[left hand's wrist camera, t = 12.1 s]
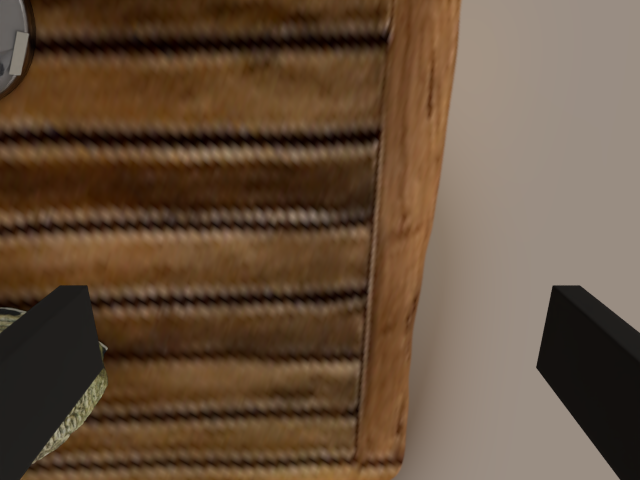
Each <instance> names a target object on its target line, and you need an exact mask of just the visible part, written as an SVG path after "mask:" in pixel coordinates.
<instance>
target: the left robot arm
mask: <svg viewBox="0 0 640 480" xmlns="http://www.w3.org/2000/svg"><path fill="white" fill-rule="evenodd" d="M35 40H36V29H35V19H34V14H33V9H32V6H31V2H30V0H0V98H2V97H4V96H6V95H7V94H9V93H10V92H11V91H12V90H14V89H15V88H16V87H17V86H18V85H19V83H20V82H21V81H22V80H23V78H24V77H25V75H26V73H27V71H28V69H29V67H30V65H31V62H32V58H33V55H34V49H35ZM103 368H104V366H103V361H102V356H101V351H100V346H99V341H98V336H97V331H96V326H95V322H94V317H93V312H92V307H91V302H90V297H89V292H88V287H87V286H59V287H58V288H56V289H55V290H54V291H53V292H51V293H50V294H49V295H48V296H46V297H45V298H44V299H42V300H41V301H40V302H39V303H37V304H36V305H35V306H34V307H32V308H31V309H30V310H29V311H27V312H26V313H25V314H24V315H22V316H21V317H20V318H19V319H17V320H16V321H15V322H14V323H12V324H11V325H10V326H8V327H7V328H6V329H5V330H3V331H2V332H1V333H0V480H20V479H21V477H22V476H23V475H24V473H25V472H26V471H27V469H28V468H29V467H30V465H31V464H32V463H33V461H34V460H35V459H36V457H37V456H38V455H39V453H40V452H41V451H42V449H43V448H44V447H45V445H46V444H47V443H48V441H49V440H50V439H51V437H52V436H53V435H54V433H55V432H56V431H57V429H58V428H59V427H60V425H61V424H62V423H63V421H64V420H65V419H66V417H67V416H68V415H69V413H70V412H71V411H72V409H73V408H74V407H75V405H76V404H77V403H78V401H79V400H80V399H81V397H82V396H83V395H84V393H85V392H86V391H87V389H88V388H89V387H90V385H91V384H92V383H93V381H94V380H95V379H96V377H97V376H98V375H99V373H100V372H101V371H102V369H103ZM536 368H537V369H538V371H539V372H540V373H541V375H542V376H543V377H544V379H545V380H546V381H547V383H548V384H549V385H550V387H551V388H552V389H553V391H554V392H555V393H556V395H557V396H558V397H559V399H560V400H561V401H562V403H563V404H564V405H565V407H566V408H567V409H568V411H569V412H570V413H571V415H572V416H573V417H574V419H575V420H576V421H577V423H578V424H579V425H580V427H581V428H582V429H583V431H584V432H585V433H586V435H587V436H588V437H589V439H590V440H591V441H592V443H593V444H594V445H595V447H596V448H597V449H598V451H599V452H600V453H601V455H602V456H603V457H604V459H605V460H606V461H607V463H608V464H609V465H610V467H611V468H612V469H613V471H614V472H615V473H616V475H617V476H618V477H619V479H620V480H640V333H639V332H638V331H637V330H635V329H634V328H633V327H632V326H630V325H629V324H628V323H626V322H625V321H624V320H623V319H621V318H620V317H619V316H618V315H616V314H615V313H614V312H613V311H611V310H610V309H609V308H608V307H606V306H605V305H604V304H602V303H601V302H600V301H599V300H598V299H596V298H595V297H594V296H592V295H591V294H590V293H589V292H587V291H586V290H585V289H584V288H582V287H581V286H553V287H552V292H551V297H550V302H549V307H548V312H547V317H546V322H545V326H544V331H543V337H542V341H541V347H540V351H539V356H538V361H537V366H536Z"/></svg>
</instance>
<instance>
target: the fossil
mask: <svg viewBox="0 0 640 480" xmlns="http://www.w3.org/2000/svg"><path fill="white" fill-rule="evenodd" d="M25 313H26V311H22V310H17V309H13V308H0V333H1V332H2V331H3V330H5V329H6V328H7V327H8V326H10V325H11V324H12V323H14V322H15V321H16V320H17V319H19V318H20V317H21V316H22V315H24V314H25ZM99 346H100V351H101V356H102V361H103V358H104V353H105V352H106V350H107V349H108V348H107V347H106V346H105V345H103V344H102V343H101V342H99ZM103 366H104V362H103ZM107 385H108V376H107V373H106V370H105V367H104V368H103V369H102V371H101V372H100V373H99V375H98V376H97V377H96V379H95V380H94V381H93V383H92V384H91V385H90V387H89V388H88V389H87V391H86V392H85V393H84V395H83V396H82V397H81V399H80V400H79V401H78V403H77V404H76V405H75V407H74V408H73V409H72V411H71V412H70V413H69V415H68V416H67V417H66V419H65V420H64V421H63V423H62V424H61V425H60V427H59V428H58V429H57V431H56V432H55V433H54V435H53V436H52V437H51V439H50V440H49V441H48V443H47V444H46V445H45V447H44V448H43V449H42V451H41V452H40V453H39V455H38V456H37V457H36V459H35V460H34V461H33V463H35V462H36V461H37V460H39V459H42V458H43V457H44V456H46V455H47V454H49V453H50V452H52V451H54V450H56V449H57V448H58V447H59V446H60V445H62V444H63V443H64V442H65V441H66V440H67V439H68V438H69V436H70V434H71V433H72V432H74V431H75V430H77V429H78V428H79V427H80V426H81V425H82V424H83V422H84V421H85V420H86V418H87V417H88V416H89V415H90V413H91V412H92V410H93V409H94V407H95V406H96V404H97V403H98V401H99V400H100V398H101V397H102V395H103V393H104V391H105V389H106V387H107ZM33 463H32V464H33Z"/></svg>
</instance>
